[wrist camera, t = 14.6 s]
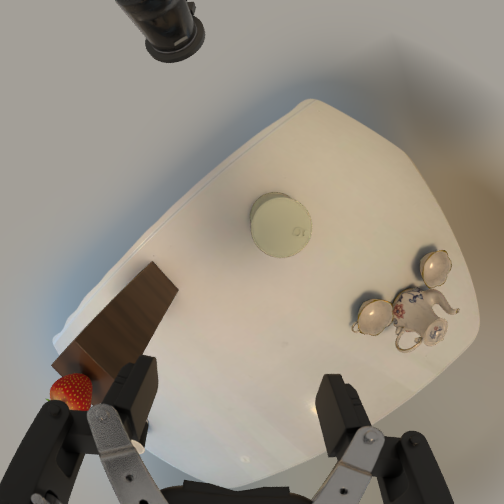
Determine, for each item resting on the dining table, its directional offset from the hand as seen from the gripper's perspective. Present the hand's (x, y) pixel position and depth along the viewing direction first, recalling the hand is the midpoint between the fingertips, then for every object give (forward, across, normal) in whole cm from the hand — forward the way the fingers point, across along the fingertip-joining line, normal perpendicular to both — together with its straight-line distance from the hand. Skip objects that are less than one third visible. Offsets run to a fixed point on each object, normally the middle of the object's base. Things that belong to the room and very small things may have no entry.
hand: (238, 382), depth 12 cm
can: (+42, -5, -2) cm, 42 cm away
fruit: (+12, +18, +15) cm, 26 cm away
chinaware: (+42, -37, +12) cm, 57 cm away
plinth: (+42, +18, +15) cm, 48 cm away
